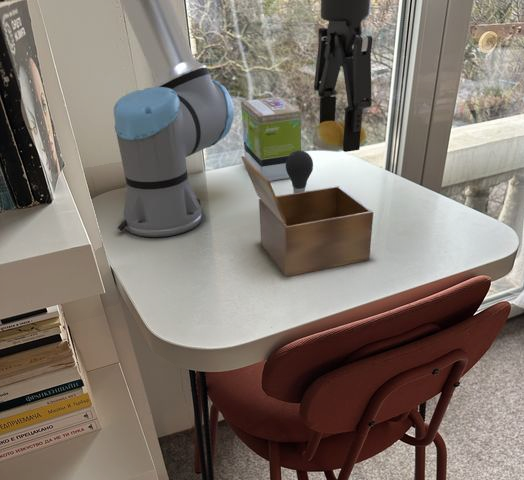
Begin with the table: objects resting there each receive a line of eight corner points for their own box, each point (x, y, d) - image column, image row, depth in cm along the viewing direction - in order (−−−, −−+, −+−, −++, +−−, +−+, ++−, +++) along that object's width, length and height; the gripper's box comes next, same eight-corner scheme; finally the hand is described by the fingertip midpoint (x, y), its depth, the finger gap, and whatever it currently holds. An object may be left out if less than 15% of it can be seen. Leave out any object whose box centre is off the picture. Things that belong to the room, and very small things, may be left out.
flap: (286, 222, 84) (284, 224, 84) (259, 194, 94) (257, 195, 94) (269, 180, 79) (267, 181, 79) (243, 155, 89) (240, 156, 89)
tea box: (243, 163, 137) (239, 99, 128) (281, 158, 139) (280, 95, 130) (261, 183, 125) (258, 114, 116) (302, 177, 127) (303, 109, 118)
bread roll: (370, 149, 94) (373, 124, 91) (319, 152, 93) (319, 128, 90) (358, 135, 100) (360, 112, 98) (310, 138, 99) (310, 115, 97)
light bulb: (297, 206, 113) (297, 157, 107) (280, 198, 117) (279, 150, 111) (318, 199, 116) (319, 151, 110) (301, 192, 119) (301, 145, 113)
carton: (286, 276, 89) (285, 227, 84) (260, 244, 99) (258, 198, 94) (369, 260, 93) (373, 211, 88) (336, 230, 103) (338, 185, 98)
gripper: (407, -9, 76) (389, 157, 89) (336, -16, 92) (330, 125, 105) (358, -6, 74) (348, 164, 87) (295, -14, 90) (294, 130, 103)
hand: (338, 142), depth 96 cm, fingers closed on bread roll, 9 cm apart
